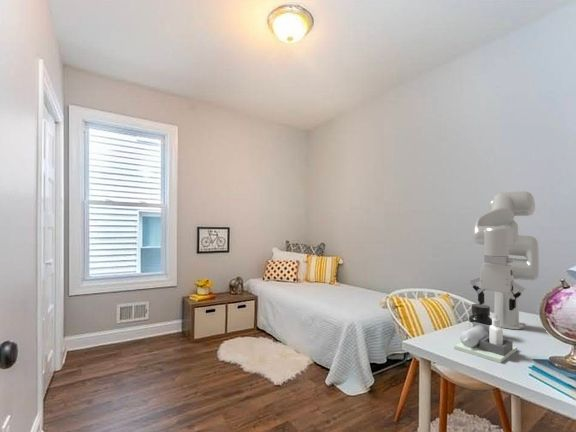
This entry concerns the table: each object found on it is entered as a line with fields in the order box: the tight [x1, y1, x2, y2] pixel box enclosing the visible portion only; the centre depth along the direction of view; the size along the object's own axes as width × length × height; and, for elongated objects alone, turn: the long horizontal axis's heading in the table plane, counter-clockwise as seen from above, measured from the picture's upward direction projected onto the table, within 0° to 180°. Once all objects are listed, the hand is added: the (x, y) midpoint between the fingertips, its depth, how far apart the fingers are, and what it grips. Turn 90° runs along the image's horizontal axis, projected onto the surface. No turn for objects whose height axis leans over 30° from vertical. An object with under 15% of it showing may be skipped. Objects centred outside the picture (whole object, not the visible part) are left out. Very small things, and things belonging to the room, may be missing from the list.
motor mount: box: [453, 322, 518, 364], centre depth 118 cm, size 18×15×7 cm
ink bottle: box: [468, 303, 493, 330], centre depth 136 cm, size 10×9×12 cm
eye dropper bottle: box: [489, 316, 504, 346], centre depth 116 cm, size 4×6×12 cm
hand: (496, 306), depth 116 cm, fingers open, 9 cm apart
